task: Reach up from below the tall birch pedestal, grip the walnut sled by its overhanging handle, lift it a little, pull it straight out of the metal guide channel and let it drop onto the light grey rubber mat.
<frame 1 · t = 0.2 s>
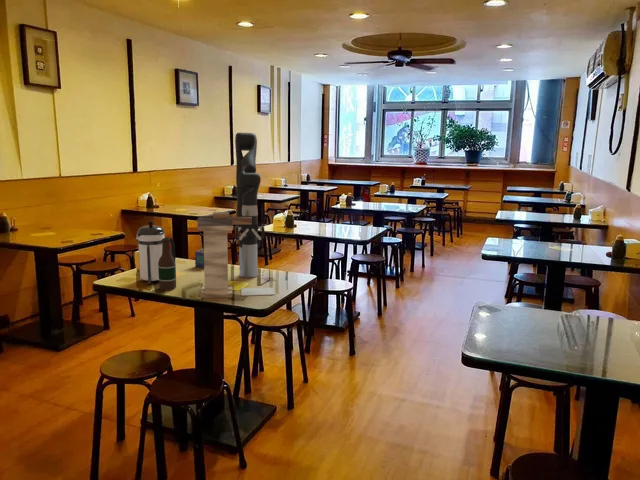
hand: (250, 247, 241), 18 cm above the table, tool pointing down, fingers open, 8 cm apart
beer bottle: (167, 288, 232), on the table
coffee press: (155, 280, 246), on the table
pedestal: (216, 293, 226), on the table
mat: (257, 292, 229), on the table
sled: (220, 224, 221), point 32 cm above the table, touching pedestal
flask: (202, 267, 273), on the table
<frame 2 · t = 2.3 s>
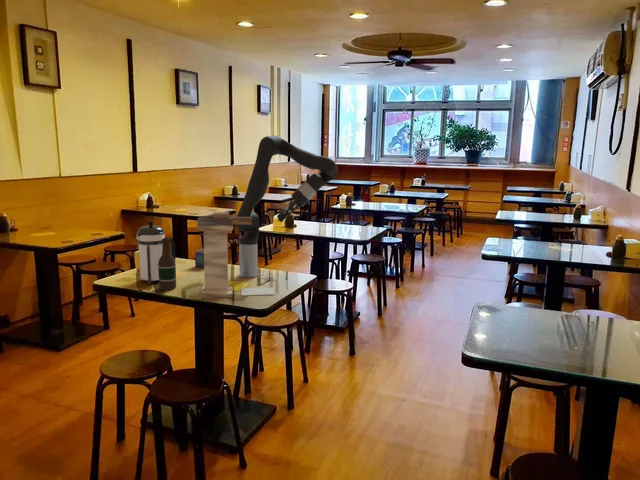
hand: (278, 219, 225), 34 cm above the table, tool tilted 45°, fingers open, 8 cm apart
nothing on the table moved.
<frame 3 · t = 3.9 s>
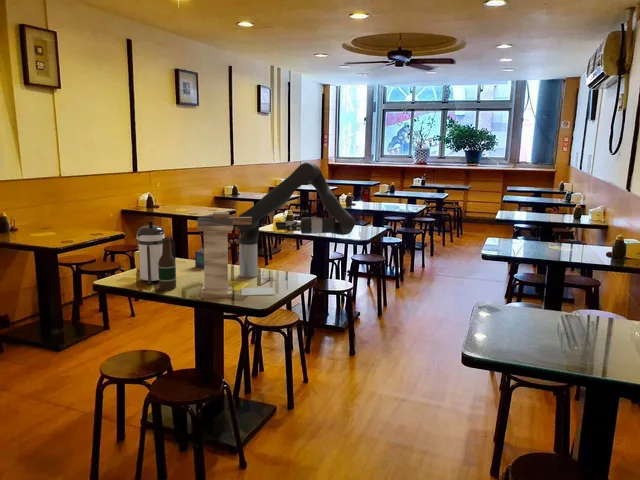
hand: (276, 225, 225), 31 cm above the table, tool horizontal, fingers open, 8 cm apart
nothing on the table moved.
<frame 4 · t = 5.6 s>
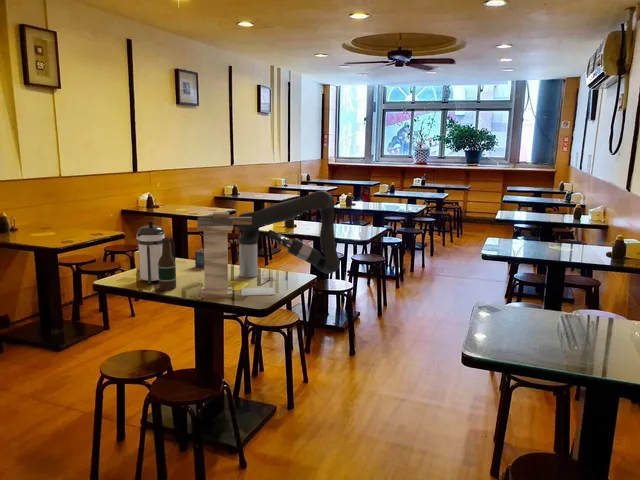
hand: (269, 233, 225), 28 cm above the table, tool pointing upward, fingers open, 8 cm apart
nothing on the table moved.
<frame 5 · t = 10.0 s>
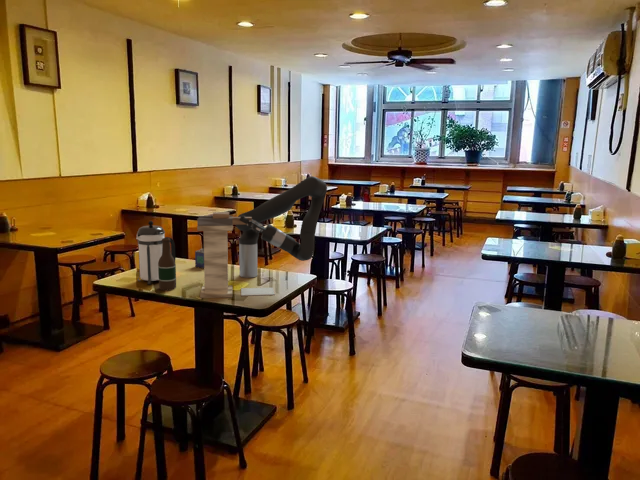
hand: (240, 217, 222), 35 cm above the table, tool pointing upward, fingers closed on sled, 3 cm apart
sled: (220, 224, 221), point 32 cm above the table, touching gripper, pedestal
everything else where it was.
when the fingers open (27 cm above the table, at t = 15.7 s): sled drops 23 cm, resting on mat.
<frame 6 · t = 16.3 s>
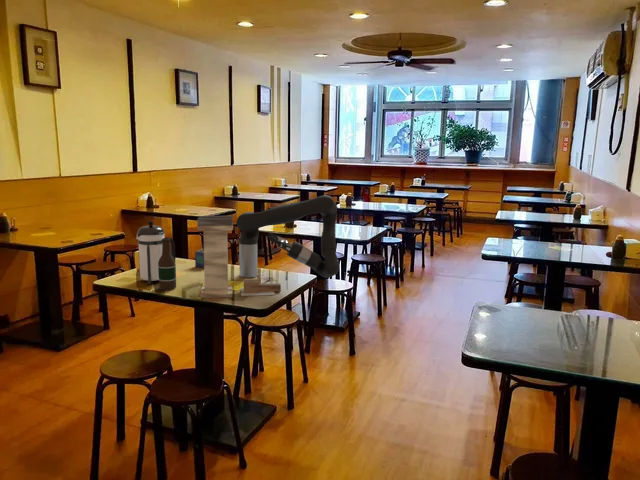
hand: (269, 235, 225), 26 cm above the table, tool pointing upward, fingers open, 8 cm apart
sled: (250, 290, 229), resting on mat
everything else where it was.
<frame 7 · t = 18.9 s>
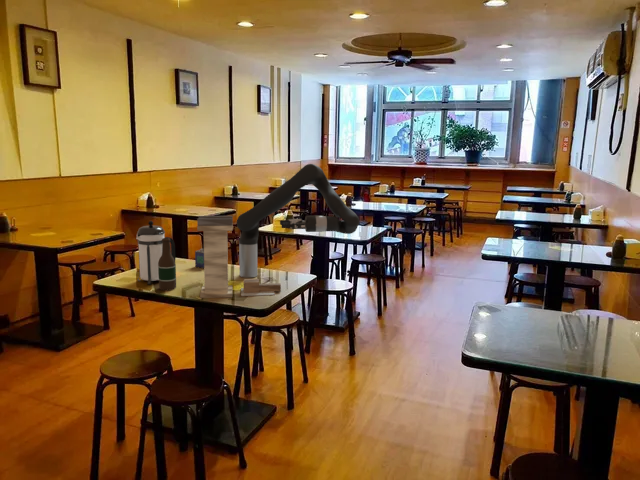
hand: (280, 223, 225), 32 cm above the table, tool horizontal, fingers open, 8 cm apart
nothing on the table moved.
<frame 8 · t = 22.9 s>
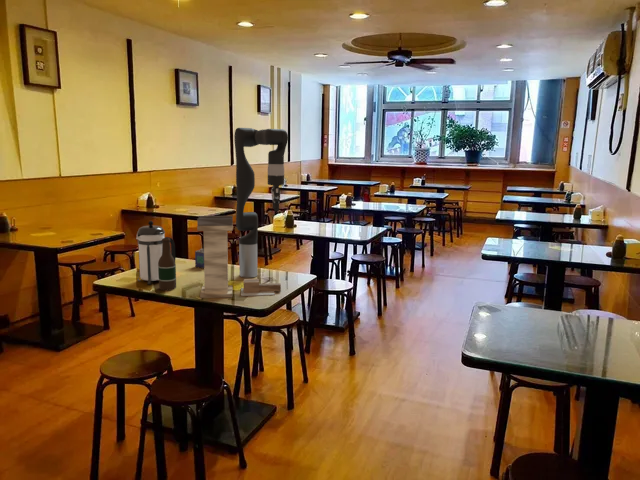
hand: (275, 209, 226), 38 cm above the table, tool pointing down, fingers open, 8 cm apart
nothing on the table moved.
at the end: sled inside the target area (2.4 cm from its centre), resting on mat; the gripper is holding nothing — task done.
